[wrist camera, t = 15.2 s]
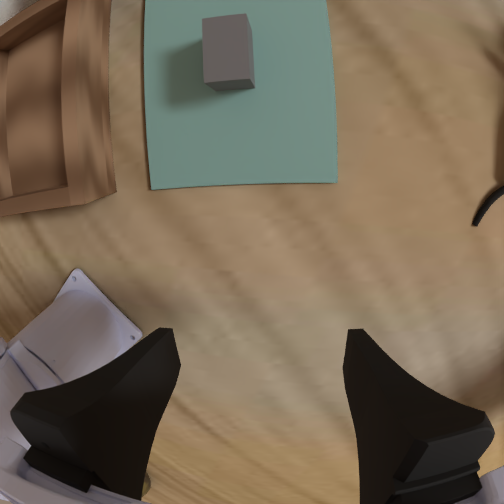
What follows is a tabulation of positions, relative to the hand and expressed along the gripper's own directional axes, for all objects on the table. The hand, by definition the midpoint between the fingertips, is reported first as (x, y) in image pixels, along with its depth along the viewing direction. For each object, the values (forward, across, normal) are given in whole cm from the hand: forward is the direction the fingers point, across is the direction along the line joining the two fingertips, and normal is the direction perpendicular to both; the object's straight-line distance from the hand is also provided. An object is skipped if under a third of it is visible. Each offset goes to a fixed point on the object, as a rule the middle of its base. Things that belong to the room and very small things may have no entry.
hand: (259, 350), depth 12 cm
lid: (+10, +2, -13) cm, 17 cm away
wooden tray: (+9, +17, -17) cm, 26 cm away
